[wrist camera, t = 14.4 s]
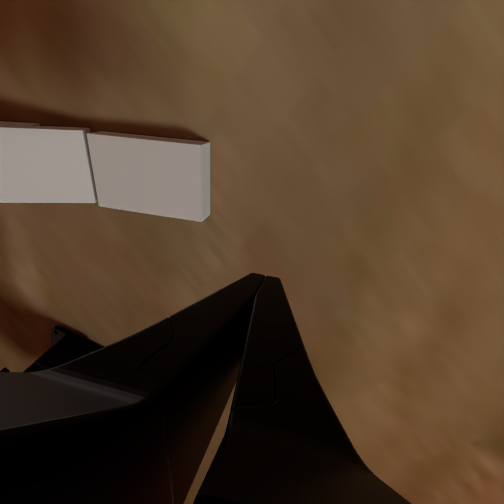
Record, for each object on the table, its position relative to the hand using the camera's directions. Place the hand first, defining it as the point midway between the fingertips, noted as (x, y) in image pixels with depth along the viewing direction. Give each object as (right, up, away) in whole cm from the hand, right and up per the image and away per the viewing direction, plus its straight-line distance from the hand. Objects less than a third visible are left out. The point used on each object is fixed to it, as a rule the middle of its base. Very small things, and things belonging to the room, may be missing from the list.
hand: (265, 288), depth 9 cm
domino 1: (-12, +7, +13) cm, 19 cm away
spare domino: (-3, +6, +12) cm, 13 cm away
